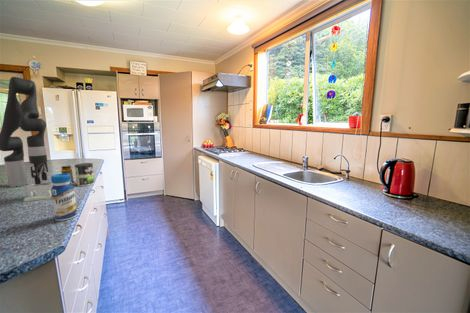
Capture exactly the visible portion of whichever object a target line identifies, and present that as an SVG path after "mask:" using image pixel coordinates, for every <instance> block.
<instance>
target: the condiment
mask: <svg viewBox="0 0 470 313" xmlns="http://www.w3.org/2000/svg"><path fill="white" fill-rule="evenodd" d="M64 173H68V174H70V176H71V181H70V183H71V182H73V180H74V176H73V170H72V166H71V165H63V166H61V174H64ZM73 183H74V182H73ZM71 184H72V183H71Z"/></svg>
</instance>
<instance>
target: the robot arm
mask: <svg viewBox="0 0 470 313" xmlns="http://www.w3.org/2000/svg"><path fill="white" fill-rule="evenodd" d="M7 92H8V93H7V99H6V100H7V101H6V103H5V104H6V105H5V109H4V114H3V120H2V126H1V129H0V151H1V152H11V153H10V154H8V155H6V156H4V157H3V162H4V166H5V171H6V177H7V182H8V183H7V184H8V187H9V188H15V187H16V186H18V187H23V186H26V184H27V185H28V184H29V181H28V176H27V170H26V164H25V159H24V158H25V153H24V143H23V142H24V141H23V140H22V139H21V137H19V136H12V135H13V134H14V133H15V132H16V131H17V130H18V129H19V128H20V129H21V130H22V131H24V132H37V133H36V134H34V135H33V134H32V135H28V136H27V137H26V145H27V154H28V155H27V156H28V163H29V164H33V166H30V175H31V178H33V179H34V184H41V183H42V182H41V180H42V181H47V180H48V175H47V174H48V172H49V168H48V155H47V149H46V145H45V132H46V128H47V122H46V121H45V120H44V119H43V118H40V113H39V112H40V111H39V109H38V103H37V100H38V98H37V86H36V83H35V82H34V81H33V80H30V79H27V78H22V77H18V76H11V77H10V79H9V82H8V91H7ZM17 94H20V95H24V96H28V97H26V98H25V99H24V100H23V101H22V102H21V104H20V102H19V100H18V98H17ZM22 185H23V186H22Z"/></svg>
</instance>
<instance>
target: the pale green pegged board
mask: <svg viewBox="0 0 470 313" xmlns="http://www.w3.org/2000/svg"><path fill="white" fill-rule="evenodd" d="M51 196H52V195H51V191H50V190H48V195H43V196H33V192H30V197H28V195H27V196H26V197H25V198H23V202H25V203H26V202H32V201H42V200H52V199H51Z"/></svg>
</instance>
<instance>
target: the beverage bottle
mask: <svg viewBox="0 0 470 313" xmlns="http://www.w3.org/2000/svg"><path fill="white" fill-rule="evenodd" d="M50 180H51V183H52V184H54V185H53V186H52V188H51V193H52V196H51V199H50V200H51V201H52V208H53V214H54V220H55V221H59V222H60V221H62V222H63V221H68V220H71V219H73V218H75V217H77V216H78V211H77V202H76V192H75V191H74V189H75V186H74V185H73V183H70V181H71V176H70V174H68V173H64V174H62V173H56V174H52V175H51V177H50Z"/></svg>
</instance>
